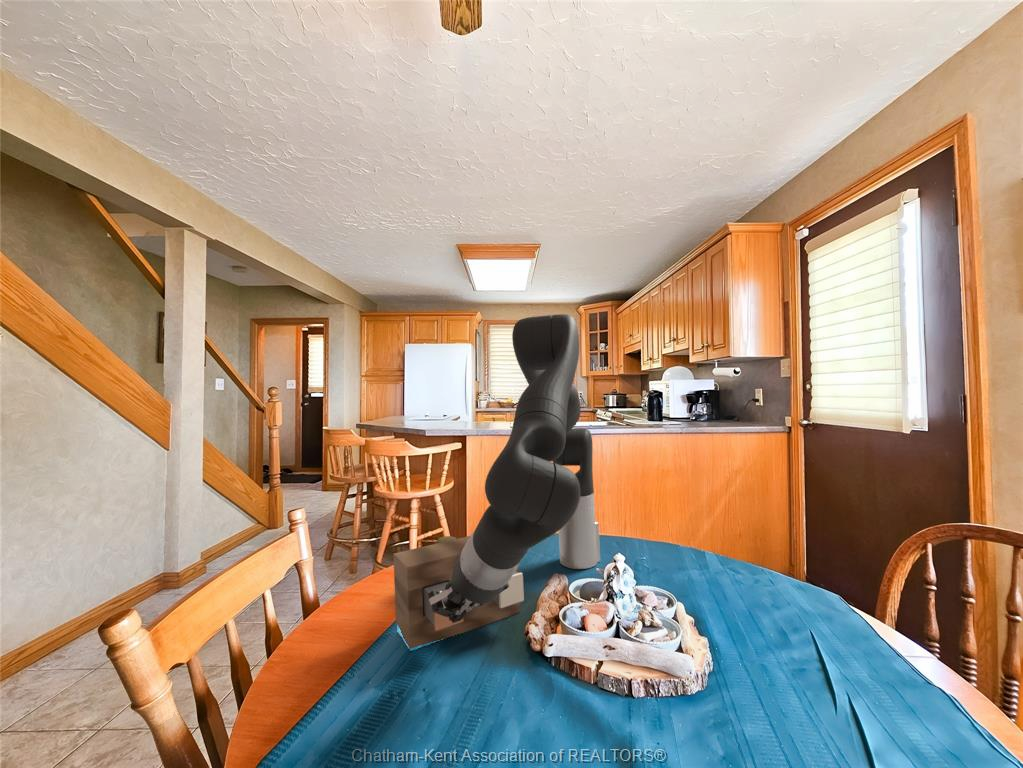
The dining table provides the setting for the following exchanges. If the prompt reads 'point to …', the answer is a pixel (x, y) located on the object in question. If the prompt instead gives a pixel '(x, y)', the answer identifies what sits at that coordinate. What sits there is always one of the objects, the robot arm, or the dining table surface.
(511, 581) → the cream button
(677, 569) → the dining table surface
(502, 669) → the dining table surface
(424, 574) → the walnut panel
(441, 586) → the terracotta button
